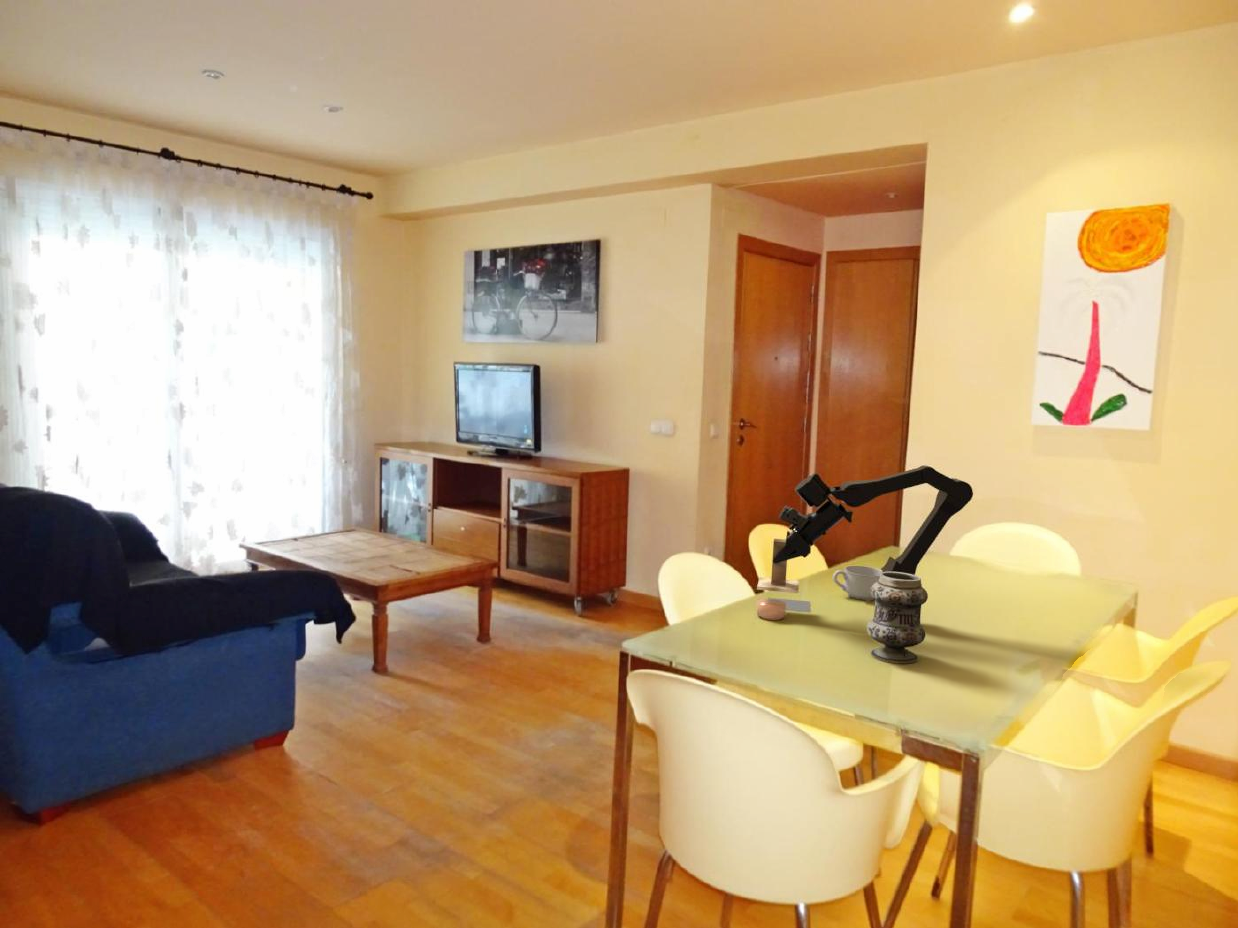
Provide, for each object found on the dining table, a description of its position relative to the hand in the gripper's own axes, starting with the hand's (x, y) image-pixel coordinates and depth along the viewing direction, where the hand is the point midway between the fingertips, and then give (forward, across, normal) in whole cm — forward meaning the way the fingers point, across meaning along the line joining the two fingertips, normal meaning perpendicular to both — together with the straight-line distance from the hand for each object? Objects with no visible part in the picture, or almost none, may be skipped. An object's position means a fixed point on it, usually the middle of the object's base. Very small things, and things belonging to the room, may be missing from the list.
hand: (774, 560), depth 219 cm
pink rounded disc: (+10, +5, +10) cm, 14 cm away
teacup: (-6, -25, +26) cm, 36 cm away
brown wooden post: (+4, 0, +6) cm, 7 cm away
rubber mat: (+7, -9, +12) cm, 17 cm away
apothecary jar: (-10, +26, +29) cm, 40 cm away
